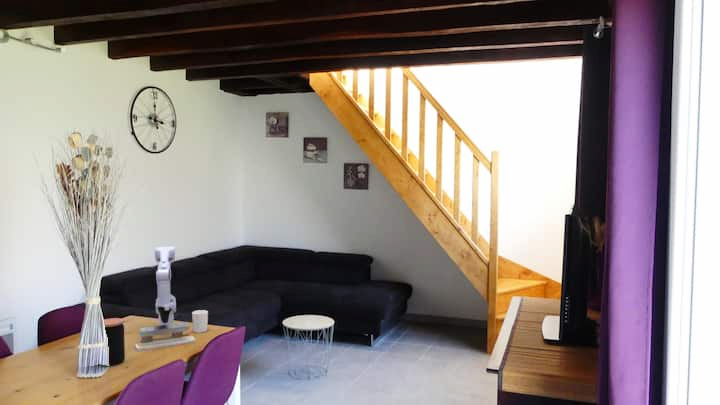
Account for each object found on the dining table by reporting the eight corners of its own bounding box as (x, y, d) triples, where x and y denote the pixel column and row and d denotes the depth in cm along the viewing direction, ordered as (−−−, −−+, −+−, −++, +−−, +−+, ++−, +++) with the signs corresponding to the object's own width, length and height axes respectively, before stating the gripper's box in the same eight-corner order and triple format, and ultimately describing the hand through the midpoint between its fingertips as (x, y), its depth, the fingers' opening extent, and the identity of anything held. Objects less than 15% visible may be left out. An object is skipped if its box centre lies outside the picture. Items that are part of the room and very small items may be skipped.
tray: (135, 347, 249) (135, 344, 249) (191, 338, 263) (191, 335, 263) (137, 351, 243) (137, 348, 243) (195, 342, 257) (195, 339, 257)
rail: (139, 333, 250) (139, 328, 249) (187, 326, 261) (187, 321, 260) (140, 337, 248) (140, 332, 247) (188, 330, 259) (189, 325, 258)
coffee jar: (93, 362, 228) (92, 321, 228) (118, 356, 236) (117, 316, 235) (103, 368, 221) (102, 326, 220) (129, 362, 229) (128, 321, 228)
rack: (140, 341, 258) (140, 330, 257) (181, 335, 267) (180, 325, 267) (142, 345, 252) (142, 333, 252) (183, 338, 262) (183, 328, 262)
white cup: (205, 333, 272) (205, 313, 271) (190, 333, 272) (189, 313, 271) (210, 328, 280) (209, 310, 279) (195, 328, 280) (195, 310, 279)
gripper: (152, 292, 257) (153, 319, 258) (158, 297, 245) (158, 326, 246) (167, 290, 261) (168, 317, 262) (173, 296, 249) (174, 324, 249)
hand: (164, 322), depth 254 cm, fingers open, 3 cm apart
